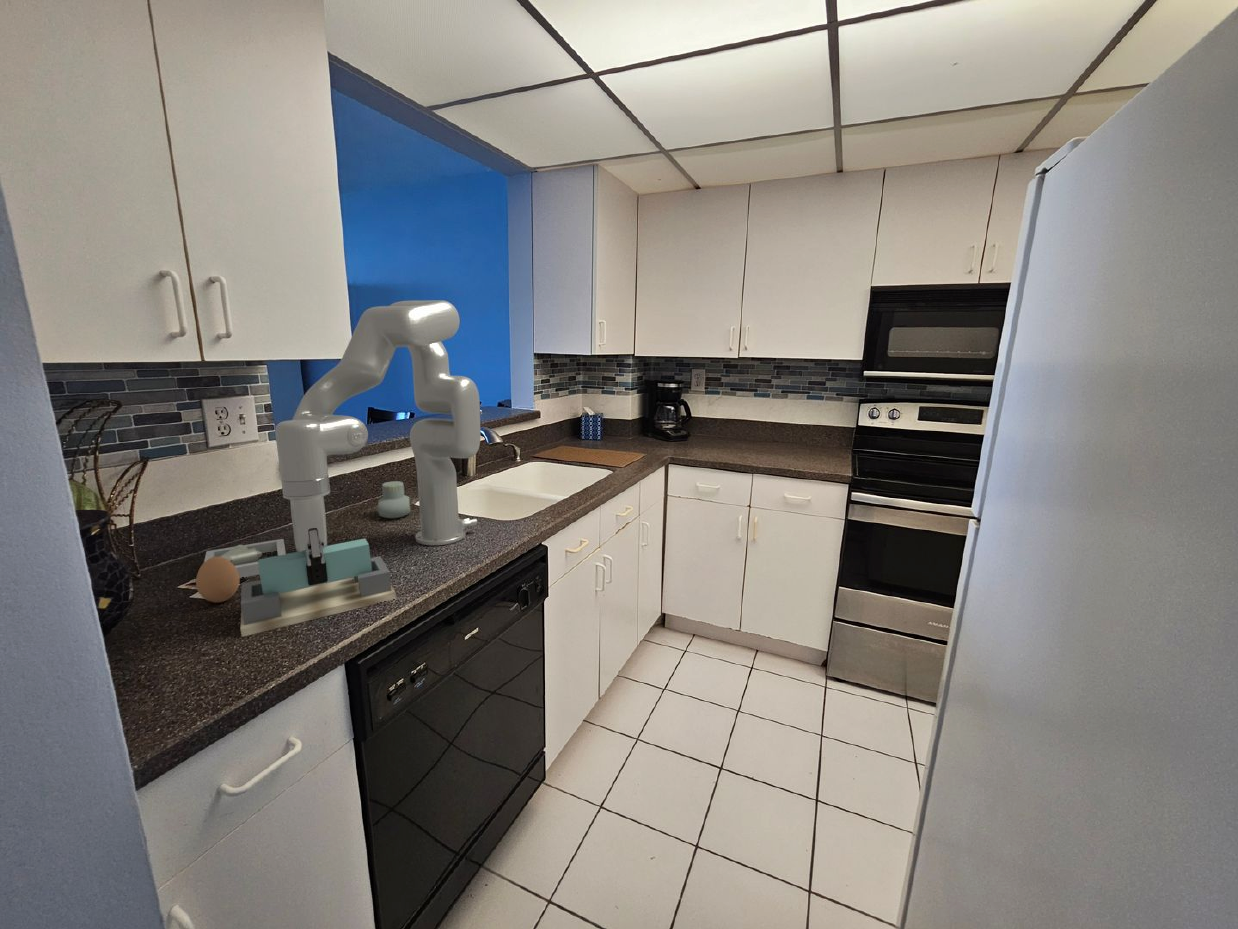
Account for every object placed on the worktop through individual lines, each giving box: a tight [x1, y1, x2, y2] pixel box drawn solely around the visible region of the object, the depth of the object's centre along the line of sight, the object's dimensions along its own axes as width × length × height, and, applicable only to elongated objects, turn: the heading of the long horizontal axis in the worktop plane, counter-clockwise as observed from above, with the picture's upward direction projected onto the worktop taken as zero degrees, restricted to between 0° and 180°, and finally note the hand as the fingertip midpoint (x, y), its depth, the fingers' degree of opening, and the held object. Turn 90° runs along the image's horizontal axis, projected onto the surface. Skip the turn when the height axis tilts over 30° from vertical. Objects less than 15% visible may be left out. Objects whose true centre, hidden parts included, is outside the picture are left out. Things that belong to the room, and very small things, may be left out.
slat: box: [257, 538, 372, 595], centre depth 98 cm, size 18×4×6 cm, turn 125°
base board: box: [240, 577, 397, 638], centre depth 100 cm, size 25×12×2 cm, turn 125°
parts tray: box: [203, 538, 287, 579], centre depth 117 cm, size 15×15×2 cm
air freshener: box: [377, 480, 411, 519], centre depth 153 cm, size 11×8×10 cm
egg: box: [195, 557, 240, 604], centre depth 100 cm, size 7×7×9 cm
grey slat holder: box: [240, 555, 392, 625], centre depth 99 cm, size 24×10×4 cm, turn 125°
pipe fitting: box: [220, 544, 263, 566], centre depth 117 cm, size 8×4×7 cm
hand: (316, 578), depth 99 cm, fingers closed on slat, 4 cm apart
